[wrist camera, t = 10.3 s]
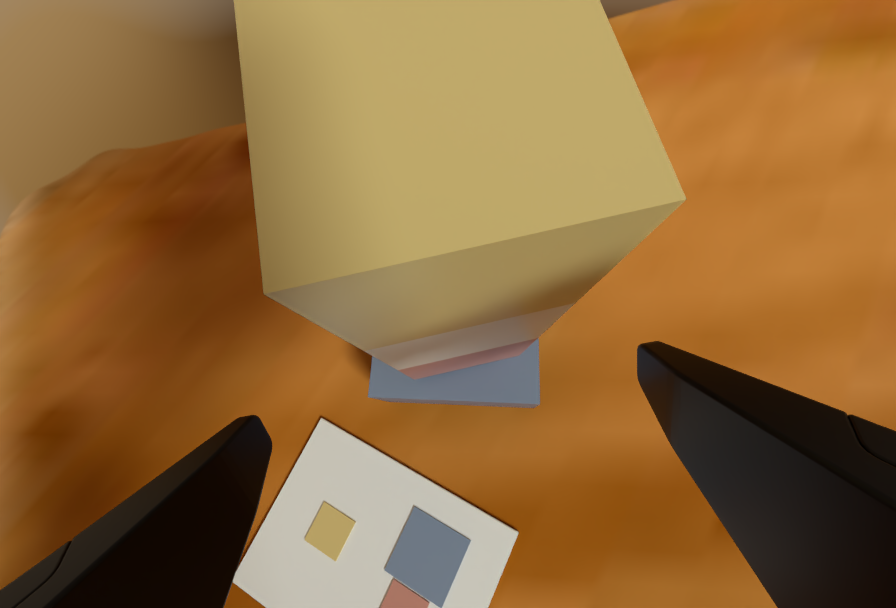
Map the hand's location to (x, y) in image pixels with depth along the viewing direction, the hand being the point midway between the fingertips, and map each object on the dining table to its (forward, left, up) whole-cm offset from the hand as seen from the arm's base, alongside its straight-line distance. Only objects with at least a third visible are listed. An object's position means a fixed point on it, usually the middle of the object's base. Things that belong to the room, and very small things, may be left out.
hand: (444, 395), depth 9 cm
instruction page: (0, +9, -13) cm, 15 cm away
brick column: (+3, -3, -9) cm, 10 cm away
